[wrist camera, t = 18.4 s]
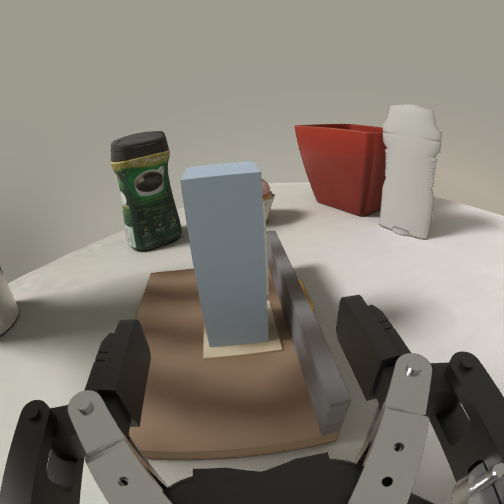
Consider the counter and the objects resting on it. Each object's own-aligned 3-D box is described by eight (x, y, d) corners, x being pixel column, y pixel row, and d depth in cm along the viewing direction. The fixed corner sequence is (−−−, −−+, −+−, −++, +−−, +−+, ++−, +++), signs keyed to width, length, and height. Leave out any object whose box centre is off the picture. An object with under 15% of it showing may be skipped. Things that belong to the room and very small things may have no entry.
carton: (209, 347, 24) (180, 180, 17) (209, 314, 28) (187, 167, 21) (270, 340, 24) (264, 171, 18) (263, 309, 28) (255, 160, 22)
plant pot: (366, 227, 49) (371, 131, 41) (293, 202, 63) (291, 124, 56) (411, 206, 58) (417, 132, 51) (347, 187, 72) (348, 123, 65)
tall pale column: (372, 226, 49) (377, 100, 39) (381, 220, 51) (387, 102, 41) (426, 243, 42) (439, 107, 32) (432, 236, 44) (444, 109, 34)
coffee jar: (171, 226, 55) (157, 129, 46) (188, 238, 49) (174, 127, 40) (123, 241, 50) (104, 140, 41) (135, 257, 44) (112, 139, 35)
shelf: (153, 282, 37) (144, 244, 34) (280, 269, 38) (280, 230, 35) (111, 455, 15) (75, 416, 13) (343, 438, 17) (360, 396, 14)
